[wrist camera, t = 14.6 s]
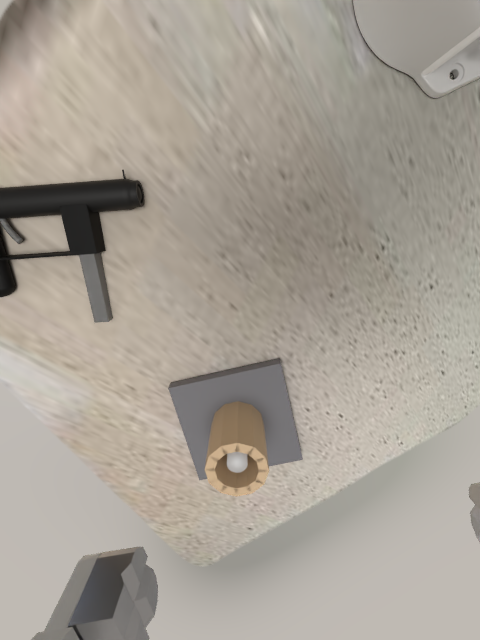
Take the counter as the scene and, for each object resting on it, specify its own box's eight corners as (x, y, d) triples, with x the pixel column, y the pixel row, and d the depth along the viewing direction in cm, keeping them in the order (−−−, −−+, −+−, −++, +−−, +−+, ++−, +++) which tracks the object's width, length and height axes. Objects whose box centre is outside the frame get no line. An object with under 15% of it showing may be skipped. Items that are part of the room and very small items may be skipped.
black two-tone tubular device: (157, 320, 37) (132, 164, 32) (-16, 331, 37) (-70, 179, 32) (163, 311, 40) (141, 168, 35) (3, 321, 41) (-43, 181, 35)
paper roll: (256, 397, 40) (260, 438, 32) (268, 440, 42) (273, 489, 34) (206, 408, 41) (198, 450, 33) (219, 450, 42) (214, 500, 35)
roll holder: (279, 358, 40) (288, 392, 32) (300, 451, 44) (314, 503, 36) (171, 382, 41) (153, 421, 33) (200, 472, 45) (191, 526, 37)
